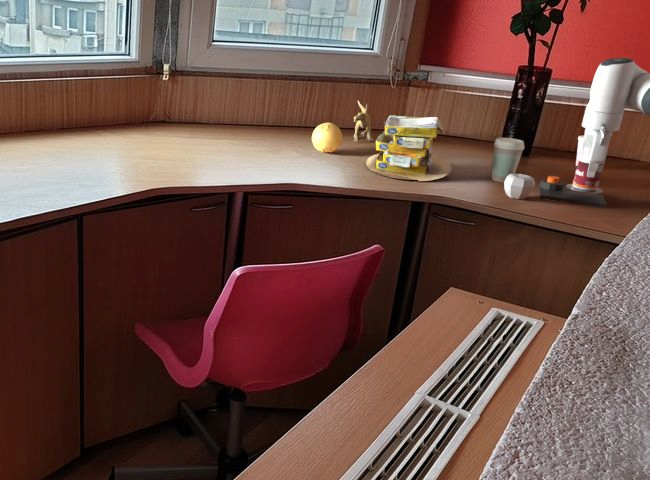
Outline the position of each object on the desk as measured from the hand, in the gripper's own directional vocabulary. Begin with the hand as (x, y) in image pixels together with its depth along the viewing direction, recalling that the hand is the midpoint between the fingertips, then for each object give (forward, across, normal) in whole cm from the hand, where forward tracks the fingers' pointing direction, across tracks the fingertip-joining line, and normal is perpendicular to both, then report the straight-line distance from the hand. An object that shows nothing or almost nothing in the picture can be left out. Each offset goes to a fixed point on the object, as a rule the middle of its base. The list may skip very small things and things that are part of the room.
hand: (588, 172), depth 194 cm
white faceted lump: (+8, -6, +16) cm, 19 cm away
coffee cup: (+8, +12, +20) cm, 25 cm away
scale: (+8, +2, +2) cm, 9 cm away
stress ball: (+8, +18, +76) cm, 78 cm away
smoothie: (+8, +46, -4) cm, 47 cm away
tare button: (+5, +6, +7) cm, 11 cm away
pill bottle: (+4, 0, 0) cm, 4 cm away
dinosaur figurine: (+8, +46, +68) cm, 83 cm away
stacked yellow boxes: (+8, +8, +48) cm, 49 cm away
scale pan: (+5, 0, 0) cm, 5 cm away
